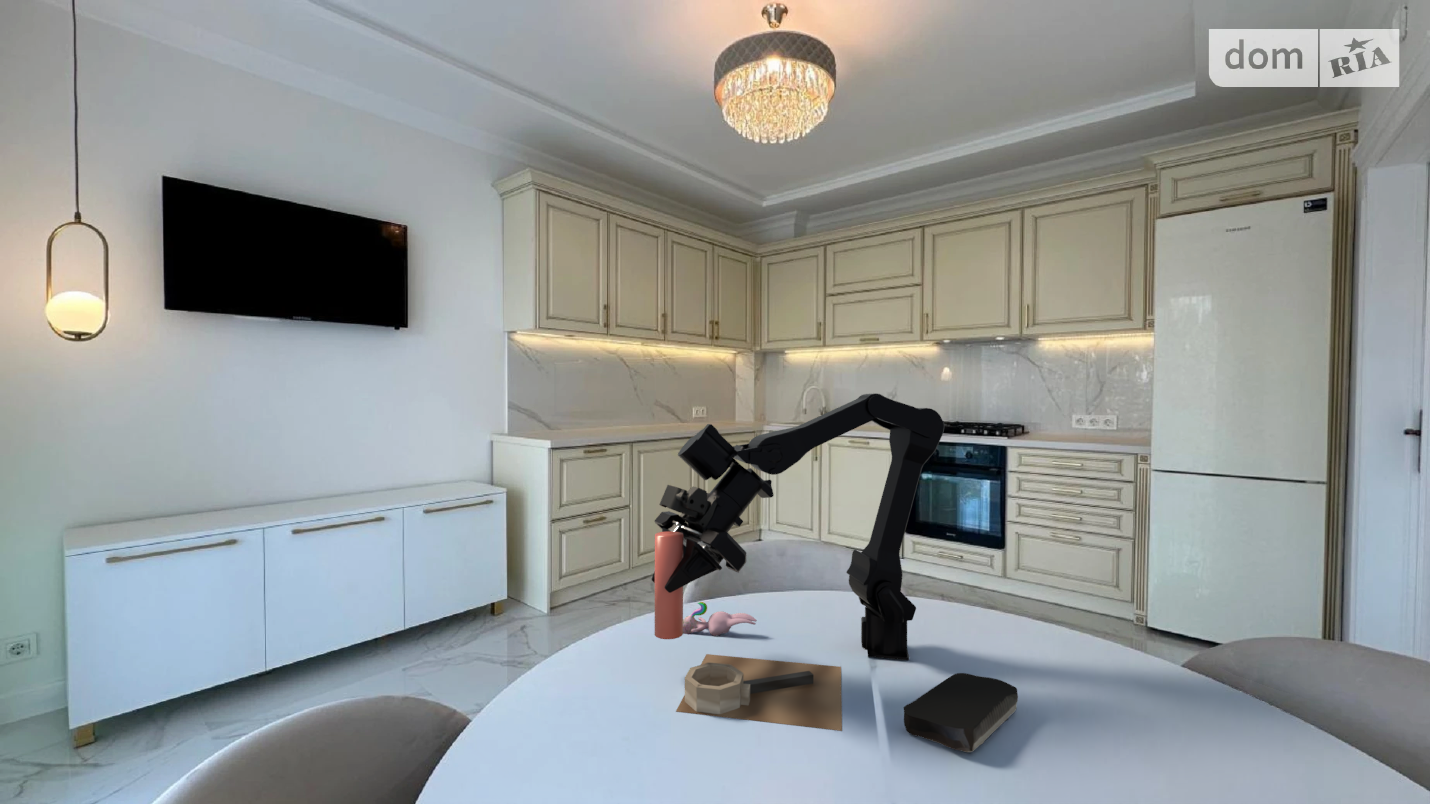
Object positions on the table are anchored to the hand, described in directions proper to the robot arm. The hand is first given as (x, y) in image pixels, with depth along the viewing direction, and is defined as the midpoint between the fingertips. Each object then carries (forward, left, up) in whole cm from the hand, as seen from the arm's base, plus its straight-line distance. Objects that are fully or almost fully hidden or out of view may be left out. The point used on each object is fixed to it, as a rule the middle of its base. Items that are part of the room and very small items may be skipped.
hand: (660, 586), depth 81 cm
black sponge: (-39, +2, -14) cm, 42 cm away
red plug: (-1, -1, -7) cm, 7 cm away
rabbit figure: (-3, -19, -14) cm, 24 cm away
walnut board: (-15, 0, -14) cm, 20 cm away
